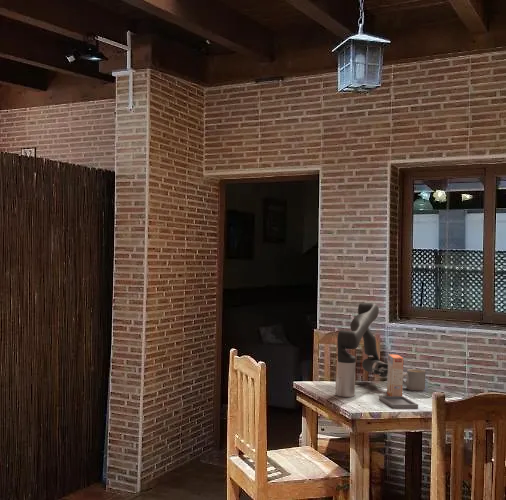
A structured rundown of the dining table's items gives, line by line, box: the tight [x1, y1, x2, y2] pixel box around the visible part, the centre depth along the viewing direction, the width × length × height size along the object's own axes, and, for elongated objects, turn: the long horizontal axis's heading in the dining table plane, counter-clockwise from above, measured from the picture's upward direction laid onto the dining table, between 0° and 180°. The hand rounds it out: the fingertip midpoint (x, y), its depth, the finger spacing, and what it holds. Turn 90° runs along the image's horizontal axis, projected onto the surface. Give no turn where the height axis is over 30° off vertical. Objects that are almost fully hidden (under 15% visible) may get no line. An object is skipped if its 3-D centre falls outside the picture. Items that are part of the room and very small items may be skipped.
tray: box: [379, 395, 419, 409], centre depth 327 cm, size 13×20×2 cm, turn 8°
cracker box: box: [386, 353, 405, 396], centre depth 346 cm, size 14×6×21 cm, turn 178°
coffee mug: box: [403, 368, 427, 391], centre depth 370 cm, size 13×10×10 cm
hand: (391, 373), depth 353 cm, fingers open, 8 cm apart
